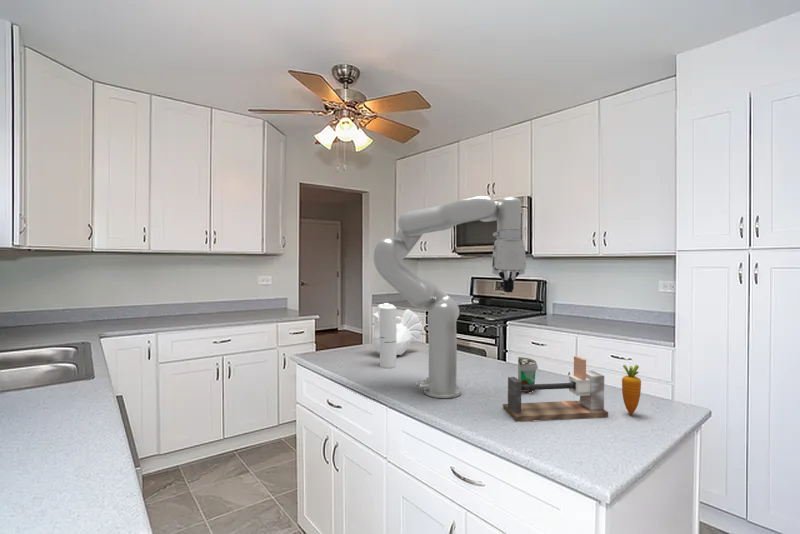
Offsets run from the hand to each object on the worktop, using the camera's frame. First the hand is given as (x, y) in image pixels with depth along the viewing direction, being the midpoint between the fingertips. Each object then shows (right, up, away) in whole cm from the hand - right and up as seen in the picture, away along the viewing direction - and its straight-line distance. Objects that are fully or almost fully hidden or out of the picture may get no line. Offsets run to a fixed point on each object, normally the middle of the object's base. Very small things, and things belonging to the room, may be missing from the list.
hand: (508, 292), depth 135 cm
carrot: (+33, -36, -13) cm, 50 cm away
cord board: (+11, -35, -12) cm, 39 cm away
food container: (+10, -35, +10) cm, 38 cm away
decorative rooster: (-36, -34, +62) cm, 79 cm away
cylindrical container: (-41, -34, +41) cm, 67 cm away
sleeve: (+19, -30, -11) cm, 37 cm away
